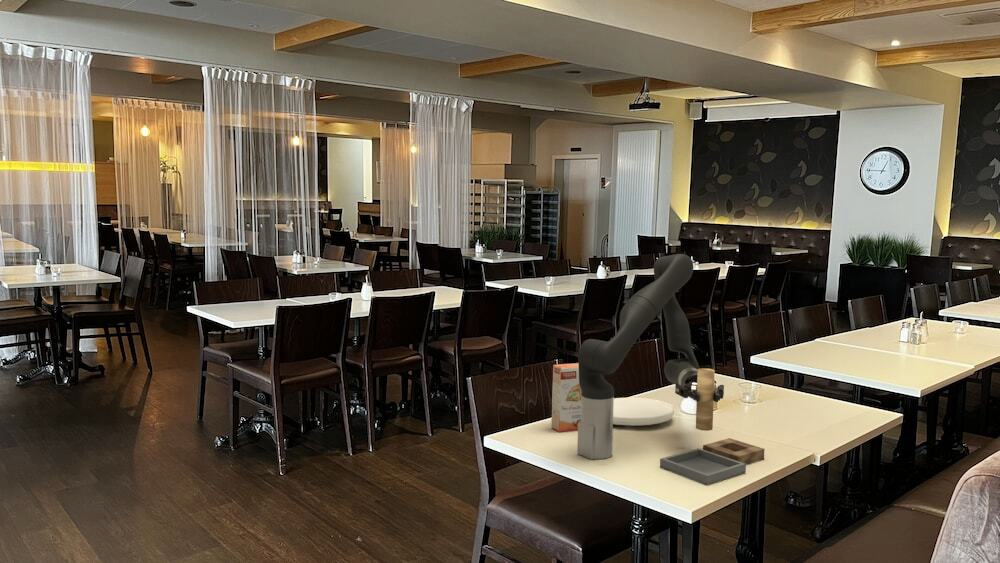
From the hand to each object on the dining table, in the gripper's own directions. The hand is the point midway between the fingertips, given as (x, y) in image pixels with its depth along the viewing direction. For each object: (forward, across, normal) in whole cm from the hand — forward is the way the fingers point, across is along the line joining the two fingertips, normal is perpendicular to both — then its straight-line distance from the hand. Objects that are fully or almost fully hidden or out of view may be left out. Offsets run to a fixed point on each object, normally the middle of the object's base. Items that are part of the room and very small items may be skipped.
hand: (707, 398), depth 198 cm
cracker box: (-39, -33, +21) cm, 55 cm away
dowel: (-3, 0, +9) cm, 9 cm away
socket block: (-14, +11, +21) cm, 27 cm away
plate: (-51, -13, +22) cm, 57 cm away
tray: (-3, 0, +21) cm, 21 cm away
